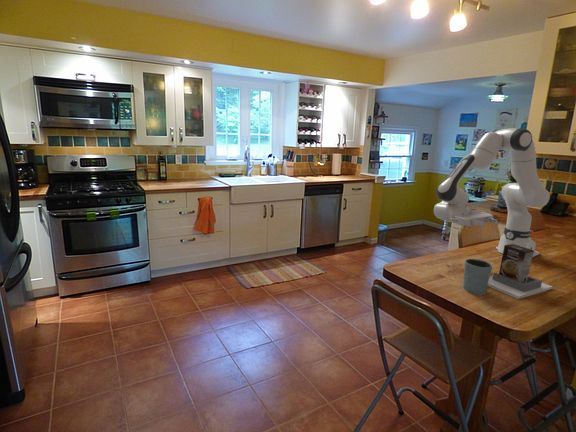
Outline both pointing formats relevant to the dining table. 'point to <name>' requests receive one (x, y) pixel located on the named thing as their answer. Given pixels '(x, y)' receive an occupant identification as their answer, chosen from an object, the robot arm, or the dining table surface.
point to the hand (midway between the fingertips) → (490, 223)
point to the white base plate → (517, 286)
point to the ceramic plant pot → (476, 276)
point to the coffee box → (516, 262)
